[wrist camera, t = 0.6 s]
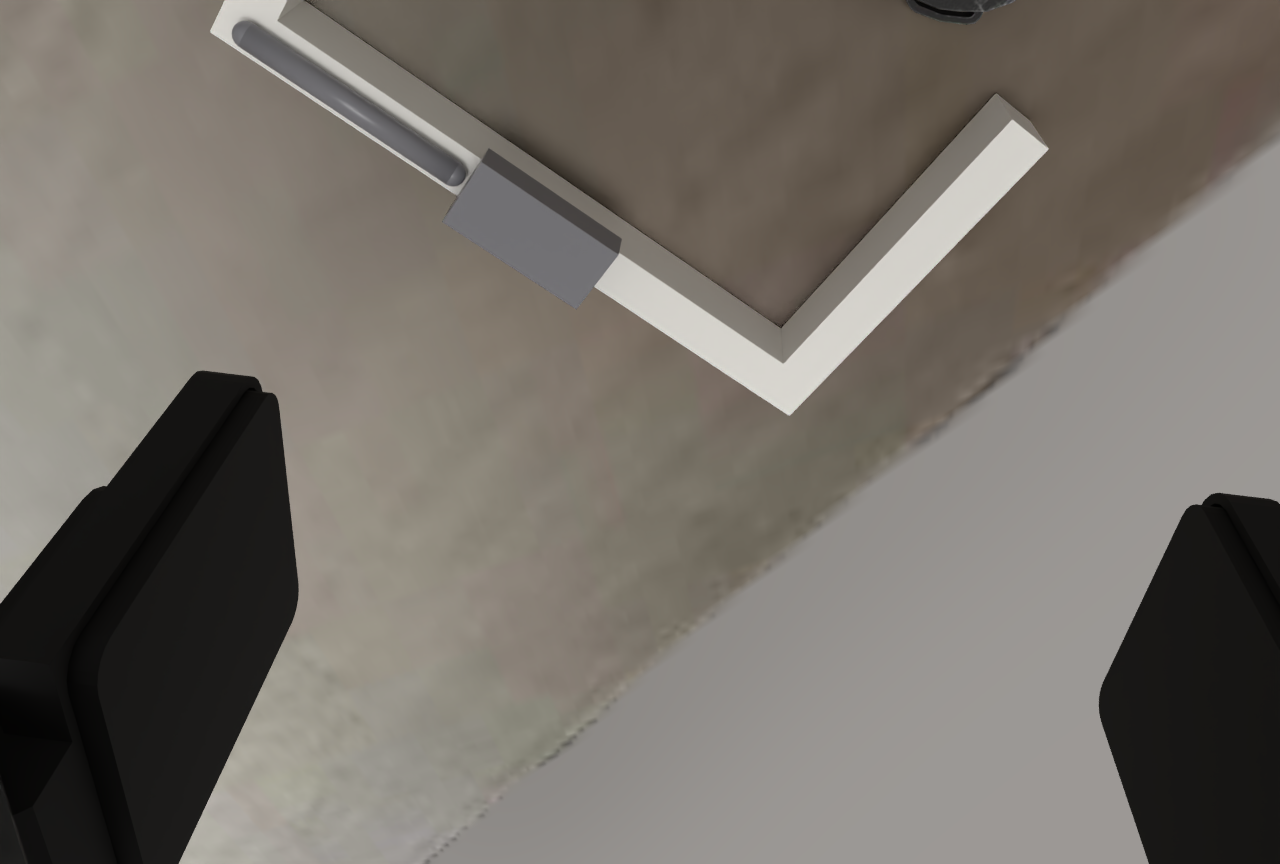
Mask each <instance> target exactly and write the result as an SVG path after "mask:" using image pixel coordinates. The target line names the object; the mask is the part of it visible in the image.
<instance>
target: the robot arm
mask: <svg viewBox="0 0 1280 864" xmlns="http://www.w3.org/2000/svg"><path fill="white" fill-rule="evenodd" d="M298 592H299V588H298V576H297V567H296V558H295V549H294V540H293V530H292V521H291V512H290V503H289V494H288V485H287V475H286V466H285V457H284V448H283V439H282V430H281V420H280V411H279V404H278V400H277V398H276V395H274V394H273V393H267V392H262V388H261V385H260V383H259V381H258V379H256V378H255V377H251V376H243V375H235V374H226V373H218V372H210V371H198V372H196V373H195V374H194V375H193V376H192V377H191V378H190V379H189V380H188V382H187V383H186V384H185V386H184V387H183V388H182V390H181V391H180V392H179V393H178V395H177V396H176V397H175V399H174V400H173V401H172V403H171V404H170V405H169V406H168V408H167V409H166V410H165V412H164V413H163V414H162V416H161V417H160V418H159V419H158V421H157V422H156V423H155V425H154V426H153V427H152V428H151V430H150V431H149V432H148V434H147V435H146V436H145V438H144V439H143V440H142V441H141V443H140V444H139V445H138V447H137V448H136V449H135V451H134V452H133V453H132V454H131V456H130V457H129V458H128V460H127V461H126V462H125V464H124V465H123V466H122V467H121V469H120V470H119V471H118V473H117V474H116V475H115V476H114V478H113V479H112V480H111V482H110V483H109V484H108V486H102V487H99V488H96V489H94V490H92V491H91V492H90V493H89V494H88V495H87V496H86V497H85V498H84V499H83V500H82V501H81V502H80V504H79V505H78V506H77V507H76V509H75V510H74V511H73V512H72V514H71V515H70V516H69V518H68V519H67V520H66V521H65V523H64V524H63V525H62V526H61V528H60V529H59V530H58V532H57V533H56V534H55V535H54V537H53V538H52V539H51V540H50V542H49V543H48V544H47V545H46V547H45V548H44V549H43V551H42V552H41V553H40V554H39V556H38V557H37V558H36V559H35V561H34V562H33V563H32V565H31V566H30V567H29V568H28V570H27V571H26V572H25V573H24V575H23V576H22V577H21V578H20V580H19V581H18V582H17V584H16V585H15V586H14V587H13V589H12V590H11V591H10V592H9V594H8V595H7V596H6V598H5V599H4V600H3V601H2V603H1V604H0V864H179V861H180V859H181V857H182V855H183V853H184V851H185V849H186V847H187V844H188V842H189V840H190V838H191V836H192V834H193V832H194V829H195V827H196V825H197V823H198V821H199V819H200V817H201V815H202V812H203V810H204V808H205V806H206V804H207V802H208V800H209V798H210V795H211V793H212V791H213V789H214V787H215V785H216V783H217V781H218V778H219V776H220V774H221V772H222V770H223V768H224V766H225V764H226V761H227V759H228V757H229V755H230V753H231V751H232V749H233V746H234V744H235V742H236V740H237V738H238V736H239V734H240V732H241V729H242V727H243V725H244V723H245V721H246V719H247V717H248V715H249V712H250V710H251V708H252V706H253V704H254V702H255V700H256V698H257V695H258V693H259V691H260V689H261V687H262V685H263V683H264V681H265V678H266V676H267V674H268V672H269V670H270V668H271V666H272V663H273V661H274V659H275V657H276V655H277V653H278V651H279V649H280V646H281V644H282V642H283V640H284V638H285V636H286V634H287V632H288V629H289V627H290V625H291V623H292V621H293V618H294V615H295V611H296V608H297V602H298ZM1099 713H1100V718H1101V722H1102V725H1103V728H1104V731H1105V734H1106V737H1107V740H1108V743H1109V746H1110V749H1111V752H1112V755H1113V758H1114V761H1115V764H1116V767H1117V770H1118V773H1119V776H1120V779H1121V782H1122V785H1123V788H1124V790H1125V794H1126V797H1127V799H1128V803H1129V806H1130V808H1131V812H1132V814H1133V817H1134V820H1135V823H1136V826H1137V829H1138V832H1139V835H1140V838H1141V841H1142V844H1143V847H1144V850H1145V853H1146V856H1147V859H1148V862H1149V864H1280V504H1279V503H1278V502H1277V501H1274V500H1271V499H1265V498H1256V497H1247V496H1240V495H1231V494H1223V493H1215V494H1211V495H1210V496H1209V497H1208V498H1207V499H1205V501H1204V502H1203V504H1202V505H1192V506H1190V507H1189V508H1187V509H1186V511H1185V513H1184V514H1183V516H1182V518H1181V520H1180V522H1179V524H1178V526H1177V528H1176V530H1175V532H1174V534H1173V536H1172V539H1171V541H1170V543H1169V545H1168V547H1167V549H1166V551H1165V553H1164V556H1163V558H1162V560H1161V562H1160V564H1159V566H1158V568H1157V570H1156V572H1155V574H1154V576H1153V579H1152V581H1151V583H1150V585H1149V587H1148V589H1147V591H1146V593H1145V595H1144V598H1143V600H1142V602H1141V604H1140V606H1139V608H1138V610H1137V612H1136V614H1135V616H1134V619H1133V621H1132V623H1131V625H1130V627H1129V629H1128V631H1127V633H1126V635H1125V638H1124V640H1123V642H1122V644H1121V646H1120V648H1119V650H1118V652H1117V654H1116V656H1115V658H1114V661H1113V663H1112V665H1111V667H1110V669H1109V671H1108V673H1107V675H1106V677H1105V679H1104V682H1103V684H1102V687H1101V691H1100V696H1099Z"/></svg>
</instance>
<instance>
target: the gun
mask: <svg viewBox="0 0 1280 864" xmlns="http://www.w3.org/2000/svg"><path fill="white" fill-rule="evenodd" d="M906 1H907V3H908V5H909V7H910V8H911V9H912V10H913V11H914V12H916V13H918V14H921V15H924V16H926V17H929V18H932V19H934V20H937V21H940V22H948V23H956V24H965V25H968V24H974V23H976V22H977V21H978V20H979V19H980V18H981V16H982V14H983V12H987V11H990V10H993V9H996V8H998V7H1001V6H1004V5H1007V4H1010V3H1013V2H1014V1H1016V0H919V1H921V2H923V3H921V2H919V1H917V0H906ZM924 3H925V4H924ZM926 4H928V5H926ZM929 5H930V6H929ZM931 6H933V7H931ZM934 7H936V8H938V9H936V8H934ZM939 9H943V10H939ZM948 10H951V11H948ZM957 11H966V12H957Z"/></svg>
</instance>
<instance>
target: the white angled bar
mask: <svg viewBox="0 0 1280 864" xmlns="http://www.w3.org/2000/svg"><path fill="white" fill-rule="evenodd" d="M210 32H211V33H212V34H214V35H215V36H217V37H218V38H220V39H221V40H223V41H224V42H226V43H227V44H229V45H230V46H232V47H233V48H235V49H236V50H238V51H239V52H241V53H242V54H244V55H245V56H247V57H248V58H250V59H251V60H253V61H254V62H256V63H257V64H259V65H260V66H262V67H263V68H265V69H267V70H268V71H270V72H271V73H273V74H274V75H276V76H277V77H279V78H280V79H282V80H283V81H285V82H286V83H288V84H289V85H291V86H292V87H294V88H295V89H297V90H298V91H300V92H301V93H303V94H304V95H306V96H307V97H309V98H310V99H312V100H313V101H315V102H316V103H318V104H319V105H321V106H322V107H324V108H325V109H327V110H328V111H330V112H331V113H333V114H334V115H336V116H337V117H339V118H340V119H342V120H343V121H345V122H346V123H348V124H349V125H351V126H353V127H354V128H356V129H357V130H359V131H360V132H362V133H363V134H365V135H366V136H368V137H369V138H371V139H372V140H374V141H375V142H377V143H378V144H380V145H381V146H383V147H384V148H386V149H387V150H389V151H390V152H392V153H393V154H395V155H396V156H398V157H399V158H401V159H402V160H404V161H405V162H407V163H408V164H410V165H411V166H413V167H414V168H416V169H417V170H419V171H420V172H422V173H423V174H425V175H426V176H428V177H429V178H431V179H432V180H434V181H436V182H437V183H439V184H440V185H442V186H443V187H445V188H446V189H448V190H449V191H451V192H452V193H454V194H455V195H457V197H456V199H455V200H454V202H453V203H452V205H451V206H450V208H449V210H448V212H447V214H446V216H445V217H444V219H443V221H442V222H443V223H445V224H446V225H448V226H449V227H451V228H452V229H454V230H455V231H457V232H458V233H460V234H461V235H463V236H465V237H466V238H468V239H469V240H471V241H472V242H474V243H475V244H477V245H478V246H480V247H481V248H483V249H484V250H486V251H488V252H489V253H491V254H492V255H494V256H495V257H497V258H498V259H500V260H501V261H503V262H504V263H506V264H507V265H509V266H510V267H512V268H514V269H515V270H517V271H518V272H520V273H521V274H523V275H524V276H526V277H527V278H529V279H530V280H532V281H533V282H535V283H537V284H538V285H540V286H541V287H543V288H544V289H546V290H547V291H549V292H550V293H552V294H553V295H555V296H556V297H558V298H560V299H561V300H563V301H564V302H566V303H567V304H569V305H570V306H572V307H573V308H575V309H577V308H578V307H579V305H580V304H581V303H582V301H583V300H584V299H585V298H586V296H587V295H588V294H589V292H590V291H591V290H592V289H593V287H595V288H597V289H598V290H600V291H602V292H603V293H605V294H606V295H608V296H609V297H611V298H612V299H614V300H615V301H617V302H618V303H620V304H621V305H623V306H624V307H626V308H627V309H629V310H630V311H632V312H633V313H635V314H636V315H638V316H639V317H641V318H642V319H644V320H645V321H647V322H648V323H650V324H651V325H653V326H654V327H656V328H657V329H659V330H660V331H662V332H663V333H665V334H666V335H668V336H669V337H671V338H672V339H674V340H675V341H677V342H678V343H680V344H681V345H683V346H685V347H686V348H688V349H689V350H691V351H692V352H694V353H695V354H697V355H698V356H700V357H701V358H703V359H704V360H706V361H707V362H709V363H710V364H712V365H713V366H715V367H716V368H718V369H719V370H721V371H722V372H724V373H725V374H727V375H728V376H730V377H731V378H733V379H734V380H736V381H737V382H739V383H740V384H742V385H743V386H745V387H746V388H748V389H749V390H751V391H752V392H754V393H755V394H757V395H758V396H760V397H761V398H763V399H764V400H766V401H768V402H769V403H771V404H772V405H774V406H775V407H777V408H778V409H780V410H781V411H783V412H784V413H786V414H787V415H789V416H790V415H791V414H792V413H793V412H794V411H795V410H796V409H797V408H798V407H799V406H800V405H801V403H802V402H803V401H804V400H805V399H806V398H807V397H808V396H809V395H810V394H811V393H812V392H813V391H814V390H815V389H816V388H817V387H818V386H819V385H820V384H821V383H822V382H823V381H824V380H825V379H826V378H827V377H828V376H829V375H830V374H831V373H832V372H833V371H834V370H835V369H836V367H837V366H838V365H839V364H840V363H841V362H842V361H843V360H844V359H845V358H846V357H847V356H848V355H849V354H850V353H851V352H852V351H853V350H854V349H855V348H856V347H857V346H858V345H859V344H860V343H861V342H862V341H863V340H864V339H865V338H866V337H867V336H868V335H869V334H870V333H871V331H872V330H873V329H874V328H875V327H876V326H877V325H878V324H879V323H880V322H881V321H882V320H883V319H884V318H885V317H886V316H887V315H888V314H889V313H890V312H891V311H892V310H893V309H894V308H895V307H896V306H897V305H898V304H899V303H900V302H901V301H902V300H903V299H904V298H905V297H906V295H907V294H908V293H909V292H910V291H911V290H912V289H913V288H914V287H915V286H916V285H917V284H918V283H919V282H920V281H921V280H922V279H923V278H924V277H925V276H926V275H927V274H928V273H929V272H930V271H931V270H932V269H933V268H934V267H935V266H936V265H937V264H938V263H939V262H940V261H941V259H942V258H943V257H944V256H945V255H946V254H947V253H948V252H949V251H950V250H951V249H952V248H953V247H954V246H955V245H956V244H957V243H958V242H959V241H960V240H961V239H962V238H963V237H964V236H965V235H966V234H967V233H968V232H969V231H970V230H971V229H972V228H973V227H974V226H975V225H976V223H977V222H978V221H979V220H980V219H981V218H982V217H983V216H984V215H985V214H986V213H987V212H988V211H989V210H990V209H991V208H992V207H993V206H994V205H995V204H996V203H997V202H998V201H999V200H1000V199H1001V198H1002V197H1003V196H1004V195H1005V194H1006V193H1007V192H1008V191H1009V190H1010V189H1011V187H1012V186H1013V185H1014V184H1015V183H1016V182H1017V181H1018V180H1019V179H1020V178H1021V177H1022V176H1023V175H1024V174H1025V173H1026V172H1027V171H1028V170H1029V169H1030V168H1031V167H1032V166H1033V165H1034V164H1035V163H1036V162H1037V161H1038V160H1039V159H1040V158H1041V157H1042V156H1043V155H1044V154H1045V153H1046V151H1047V150H1048V149H1049V148H1048V147H1047V145H1046V144H1045V142H1044V141H1043V139H1042V138H1041V136H1040V135H1039V133H1038V132H1037V130H1036V129H1035V127H1034V126H1033V124H1032V123H1031V121H1030V120H1029V119H1027V118H1026V117H1025V116H1024V115H1022V114H1021V113H1020V112H1019V111H1018V110H1016V109H1015V108H1014V107H1013V106H1011V105H1010V104H1009V103H1008V102H1007V101H1005V100H1004V99H1003V98H1002V97H1000V96H999V95H998V94H997V93H996V94H995V95H994V96H993V97H992V98H991V99H990V100H989V101H988V102H987V103H986V104H985V106H984V107H983V108H982V109H981V110H980V111H979V112H978V113H977V114H976V115H975V117H974V118H973V119H972V120H971V121H970V122H969V123H968V124H967V125H966V126H965V127H964V129H963V130H962V131H961V132H960V133H959V134H958V135H957V136H956V137H955V138H954V139H953V141H952V142H951V143H950V144H949V145H948V146H947V147H946V148H945V149H944V150H943V152H942V153H941V154H940V155H939V156H938V157H937V158H936V159H935V160H934V161H933V162H932V164H931V165H930V166H929V167H928V168H927V169H926V170H925V171H924V172H923V173H922V175H921V176H920V177H919V178H918V179H917V180H916V181H915V182H914V183H913V184H912V185H911V187H910V188H909V189H908V190H907V191H906V192H905V193H904V194H903V195H902V196H901V198H900V199H899V200H898V201H897V202H896V203H895V204H894V205H893V206H892V207H891V208H890V210H889V211H888V212H887V213H886V214H885V215H884V216H883V217H882V218H881V219H880V220H879V222H878V223H877V224H876V225H875V226H874V227H873V228H872V229H871V230H870V231H869V233H868V234H867V235H866V236H865V237H864V238H863V239H862V240H861V241H860V242H859V243H858V245H857V246H856V247H855V248H854V249H853V250H852V251H851V252H850V253H849V254H848V256H847V257H846V258H845V259H844V260H843V261H842V262H841V263H840V264H839V265H838V266H837V268H836V269H835V270H834V271H833V272H832V273H831V274H830V275H829V276H828V277H827V278H826V280H825V281H824V282H823V283H822V284H821V285H820V286H819V287H818V288H817V289H816V291H815V292H814V293H813V294H812V295H811V296H810V297H809V298H808V299H807V300H806V301H805V303H804V304H803V305H802V306H801V307H800V308H799V309H798V310H797V311H796V312H795V314H794V315H793V316H792V317H791V318H790V319H789V320H788V321H787V322H786V323H785V324H784V326H783V327H782V328H780V327H778V326H777V325H775V324H774V323H772V322H771V321H769V320H768V319H767V318H765V317H764V316H762V315H761V314H759V313H758V312H756V311H755V310H753V309H752V308H751V307H749V306H748V305H746V304H745V303H743V302H742V301H740V300H739V299H737V298H736V297H735V296H733V295H732V294H730V293H729V292H727V291H726V290H724V289H723V288H722V287H720V286H719V285H717V284H716V283H714V282H713V281H711V280H710V279H708V278H707V277H706V276H704V275H703V274H701V273H700V272H698V271H697V270H695V269H694V268H692V267H691V266H690V265H688V264H687V263H685V262H684V261H682V260H681V259H679V258H678V257H676V256H675V255H674V254H672V253H671V252H669V251H668V250H666V249H665V248H663V247H662V246H661V245H659V244H658V243H656V242H655V241H653V240H652V239H650V238H649V237H647V236H646V235H645V234H643V233H642V232H640V231H639V230H637V229H636V228H634V227H633V226H631V225H630V224H629V223H627V222H626V221H624V220H623V219H621V218H620V217H618V216H617V215H615V214H614V213H613V212H611V211H610V210H608V209H607V208H605V207H604V206H602V205H601V204H600V203H598V202H597V201H595V200H594V199H592V198H591V197H589V196H588V195H586V194H585V193H584V192H582V191H581V190H579V189H578V188H576V187H575V186H573V185H572V184H570V183H569V182H568V181H566V180H565V179H563V178H562V177H560V176H559V175H557V174H556V173H554V172H553V171H552V170H550V169H549V168H547V167H546V166H544V165H543V164H541V163H540V162H539V161H537V160H536V159H534V158H533V157H531V156H530V155H528V154H527V153H525V152H524V151H523V150H521V149H520V148H518V147H517V146H515V145H514V144H512V143H511V142H509V141H508V140H507V139H505V138H504V137H502V136H501V135H499V134H498V133H496V132H495V131H493V130H492V129H491V128H489V127H488V126H486V125H485V124H483V123H482V122H480V121H479V120H478V119H476V118H475V117H473V116H472V115H470V114H469V113H467V112H466V111H464V110H463V109H462V108H460V107H459V106H457V105H456V104H454V103H453V102H451V101H450V100H448V99H447V98H446V97H444V96H443V95H441V94H440V93H438V92H437V91H435V90H434V89H433V88H431V87H430V86H428V85H427V84H425V83H424V82H422V81H421V80H419V79H418V78H417V77H415V76H414V75H412V74H411V73H409V72H408V71H406V70H405V69H403V68H402V67H401V66H399V65H398V64H396V63H395V62H393V61H392V60H390V59H389V58H387V57H386V56H385V55H383V54H382V53H380V52H379V51H377V50H376V49H374V48H373V47H372V46H370V45H369V44H367V43H366V42H364V41H363V40H361V39H360V38H358V37H357V36H356V35H354V34H353V33H351V32H350V31H348V30H347V29H345V28H344V27H342V26H341V25H340V24H338V23H337V22H335V21H334V20H332V19H331V18H329V17H328V16H326V15H325V14H324V13H322V12H321V11H319V10H318V9H316V8H315V7H313V6H312V5H311V4H309V3H308V2H306V1H305V0H225V1H224V3H223V5H222V7H221V10H220V12H219V14H218V16H217V18H216V20H215V22H214V24H213V27H212V29H211V31H210Z"/></svg>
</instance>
